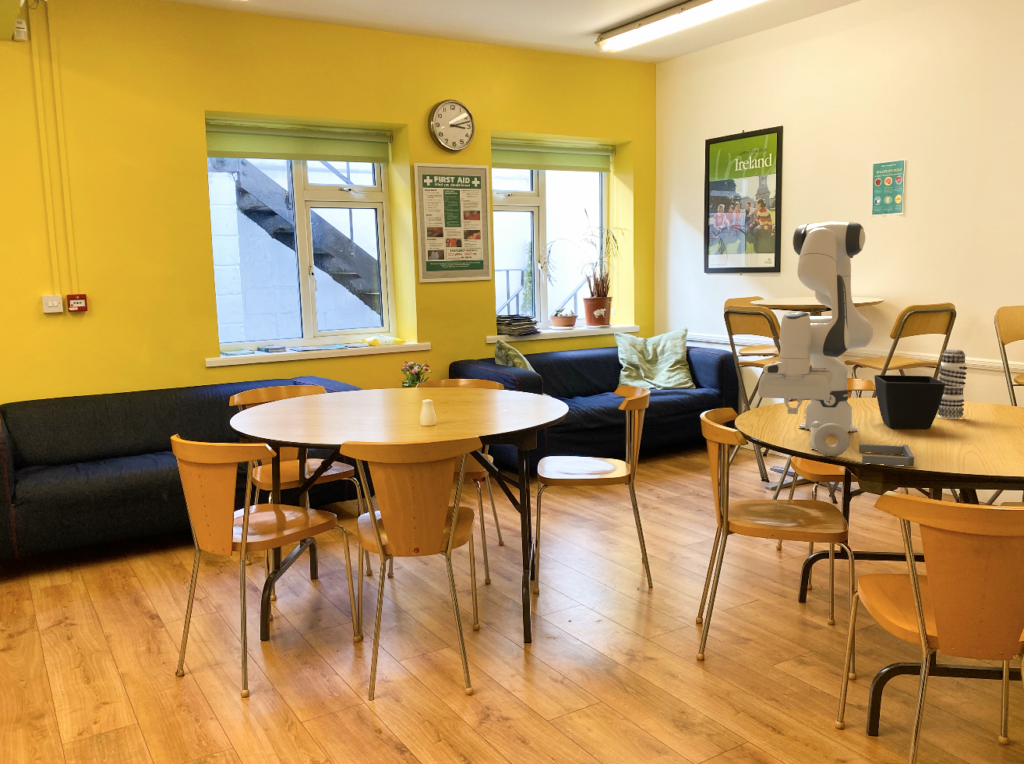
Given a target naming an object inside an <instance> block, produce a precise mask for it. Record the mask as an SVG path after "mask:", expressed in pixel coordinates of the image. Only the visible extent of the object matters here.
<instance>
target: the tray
mask: <svg viewBox="0 0 1024 764" xmlns="http://www.w3.org/2000/svg"><path fill="white" fill-rule="evenodd" d="M859 452H871V453H870V454H862V455H861V464H862V463H870V464H884V465H904V466H915V456H914V454H913V452H912V450H911V448H910V447H909V444H902V445H889V444H871V443H870V444H869V443H867V444H865V443H859V444H858V453H859ZM873 453H884V454H883V455H876V454H875V455H874V454H873ZM871 454H873V455H871ZM891 454H903V455H902V456H893V455H892V456H891ZM886 455H887V456H886ZM888 455H890V456H888ZM884 465H883V466H884Z"/></svg>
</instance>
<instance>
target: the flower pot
mask: <svg viewBox="0 0 1024 764" xmlns="http://www.w3.org/2000/svg"><path fill="white" fill-rule="evenodd" d="M939 380H940V379H937V378H935V377H933V376H931V375H903V374H902V375H897V374H896V375H894V374H892V375H891V374H890V375H889V374H888V375H887V374H874V386H875V393H876V398H877V403H878V409H879V412H880V416H881V419H882V422H883V423H884V424H885V425H886V426H887V427H889V428H891V429H901V428H903V429H907V430H908V429H909V430H930V429H931V427H932V426H933V423H934V420H935V419H936V417H937V415H938V413H937V412H938V411H939V410H938V409H939V406H940V403H941V400H942V396H943V393H944V388H945V383H944V382H942V381H939Z"/></svg>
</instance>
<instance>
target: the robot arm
mask: <svg viewBox="0 0 1024 764" xmlns="http://www.w3.org/2000/svg"><path fill="white" fill-rule="evenodd" d="M865 243H866V233H865V230H864V227H863V226H862V225H861V223H858V222H853V221H852V222H851V221H850V222H842V221H828V222H821V223H820V222H819V223H813V224H811V223H806V224H801V225H799V226H798V227H796V229H795V230H794V232H793V236H792V247H793V250H794V252H795V254H797V255H798V256H799V258H798V263H797V277H798V280H799V281H800V283H801V284H802V285H803V286H805V288H807V289H809V290H811V291H814V292H815V293H814V296H815V298H816V299H815V300H817V302H818V303H820V304H821V305H824V306H825V307H828V308H829V309H831V316H830V315H828V316H827V315H821V316H820V315H815V316H814V315H810V314H809V313H808V312H804V311H790V312H786V313H784V314H783V316H782V318H781V323H780V330H779V346H780V351H779V355H778V361H773V362H771V363H766V364H765V365H764V366H763V367H762V371H763V374H762V375H761V376H760V379H759V381H758V382H759V383H758V387H757V388H758V389H757V395H758V397H759V398H764V399H765V398H766V399H769V398H771V399H783V402H784V405H785V407H786V408H787V414H788V415H789V414H791V415H798V414H799V408H800V407H801V406H802V404H803V400H810V401H809V402H807V404H806V406H805V408H804V421H803V422H802V423H800V424H799V426H798V428H799V427H800V428H799V429H801V428H805V429H804V430H807V429H809V430H808V431H811V424H812V423H813V422H815V421H819V422H821V423H822V424H823V425H824V424H827V423H834V424H838V425H840V426H842V427H843V428H844V429H845V430H846V431H847V432H848V433H849V431H850V432H858V431H859V430H858V427H857V426H856V425H854V424H853V406H852V405H851V404H850V403H849V402H848V400H849V389H848V367H847V365H846V363H844V362H843V361H841V360H839V359H837V358H838V357H841V356H842V355H843V354H844V353H846V352H847V351H848V350H853V349H860V348H866V347H867V346H868V345H869V344H870V343H871V341H872V339H873V337H874V329H873V326H872V323H871V322H870V320H868V319H867V318H866V317H864V316H863V315H862V313H860V312H859V310H858V309H857V308H856V306H855V305H854V301H853V299H852V298H853V297H852V285H851V284H852V281H851V280H852V264H851V259H853V258H854V256H857V255H858V254H860V252H862V250H863V248H864V246H865ZM790 399H792V400H793V399H794V400H795V399H796V402H797V403H798V404H797V405H796V406H795V407H793V406H792V407H791V406H790V404H789V402H790ZM857 430H858V431H857Z"/></svg>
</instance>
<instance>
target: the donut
mask: <svg viewBox="0 0 1024 764" xmlns="http://www.w3.org/2000/svg"><path fill="white" fill-rule="evenodd" d="M830 435H832V436H833V435H834V436H835V437H836V439H837V441H836V443H835V444H829V443H827V439H826V438H827V436H830ZM850 443H851V440H850V435H849V432H847V431H846V430H845V429H844V428H843V427H842V426H840V425H838V424H834V423H827V424H824V425H822V426H820V427H819V428H818V429H817V431H816V432H815V434H814V444H815V446H816V448H817V450H818V451H817V452H819V453H821V454H822V455H824V456H826V455H829V456H828V457H830V456H833V457H839V456H840V455H843V454H844V453H845V452H846V451H847V450H848V448H849V447H850Z"/></svg>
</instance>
